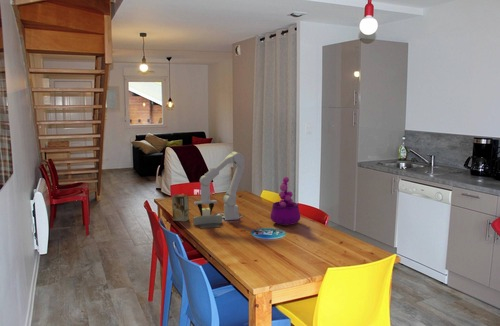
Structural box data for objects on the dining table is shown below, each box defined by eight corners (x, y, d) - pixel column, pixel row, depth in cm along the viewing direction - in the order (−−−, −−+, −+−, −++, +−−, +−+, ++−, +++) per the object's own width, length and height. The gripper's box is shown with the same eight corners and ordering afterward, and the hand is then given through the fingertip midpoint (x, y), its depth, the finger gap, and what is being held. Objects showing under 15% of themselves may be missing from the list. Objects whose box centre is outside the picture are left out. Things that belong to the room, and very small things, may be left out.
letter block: (208, 216, 271) (208, 207, 270) (210, 218, 267) (210, 209, 266) (201, 217, 270) (201, 207, 269) (202, 219, 265) (202, 209, 264)
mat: (217, 223, 263) (217, 222, 262) (220, 227, 255) (220, 226, 255) (198, 225, 259) (198, 224, 259) (200, 228, 252) (200, 228, 251)
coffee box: (189, 219, 272) (189, 195, 270) (185, 221, 266) (184, 197, 264) (176, 217, 275) (176, 194, 273) (172, 220, 269) (171, 196, 267)
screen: (221, 222, 265) (221, 214, 264) (222, 223, 264) (221, 215, 263) (193, 224, 260) (193, 217, 259) (193, 225, 259) (193, 217, 258)
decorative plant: (298, 228, 252) (299, 180, 248) (268, 227, 256) (268, 178, 251) (301, 220, 270) (302, 174, 266) (272, 218, 274) (273, 173, 270)
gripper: (195, 196, 260) (195, 217, 262) (217, 195, 264) (218, 215, 266) (193, 194, 267) (193, 214, 269) (215, 192, 271) (215, 213, 273)
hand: (205, 215), depth 268 cm, fingers closed on letter block, 5 cm apart
